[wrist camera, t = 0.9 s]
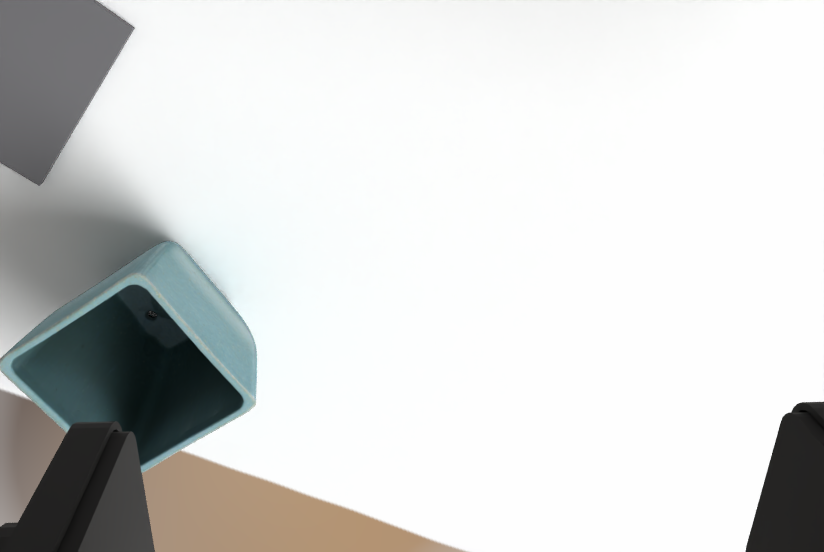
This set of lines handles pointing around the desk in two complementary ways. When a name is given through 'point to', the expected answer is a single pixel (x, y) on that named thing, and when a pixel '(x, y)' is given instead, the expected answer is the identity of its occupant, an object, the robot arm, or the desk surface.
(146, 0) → the desk surface
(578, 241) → the desk surface
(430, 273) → the desk surface
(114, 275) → the flower pot
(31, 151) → the mat
